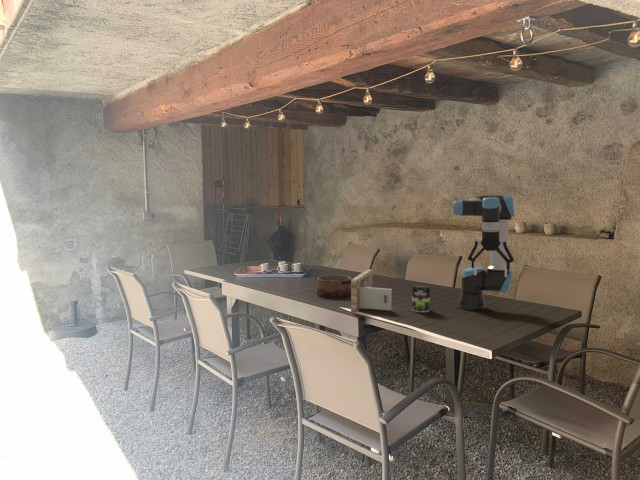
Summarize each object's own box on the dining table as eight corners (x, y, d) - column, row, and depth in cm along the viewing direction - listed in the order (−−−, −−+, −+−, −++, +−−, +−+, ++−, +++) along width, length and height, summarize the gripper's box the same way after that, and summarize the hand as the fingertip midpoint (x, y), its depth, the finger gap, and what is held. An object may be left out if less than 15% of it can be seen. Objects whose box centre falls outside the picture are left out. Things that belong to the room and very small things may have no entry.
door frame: (367, 297, 294) (367, 269, 293) (371, 297, 293) (372, 269, 292) (351, 311, 259) (351, 279, 257) (356, 312, 258) (356, 280, 256)
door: (354, 308, 264) (355, 287, 263) (356, 306, 268) (356, 286, 266) (390, 311, 258) (390, 290, 256) (391, 309, 261) (391, 288, 260)
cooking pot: (362, 294, 303) (362, 278, 302) (338, 300, 288) (338, 283, 286) (330, 287, 325) (330, 272, 323) (306, 292, 309) (306, 276, 308)
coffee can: (429, 313, 255) (430, 288, 254) (410, 311, 258) (411, 286, 257) (430, 308, 265) (431, 284, 264) (412, 307, 268) (412, 283, 267)
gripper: (461, 231, 216) (461, 275, 219) (519, 232, 205) (518, 279, 208) (464, 229, 223) (464, 272, 226) (520, 230, 211) (519, 275, 214)
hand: (490, 275), depth 217 cm, fingers open, 13 cm apart
